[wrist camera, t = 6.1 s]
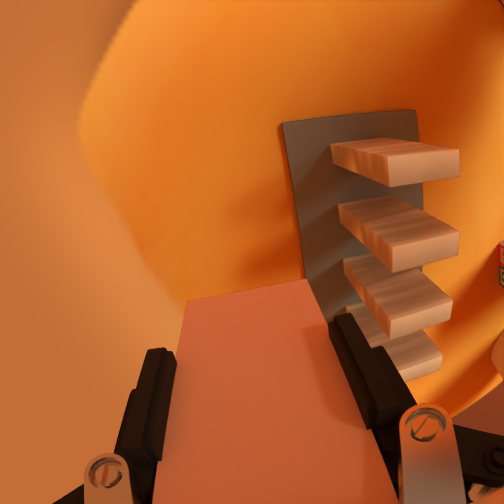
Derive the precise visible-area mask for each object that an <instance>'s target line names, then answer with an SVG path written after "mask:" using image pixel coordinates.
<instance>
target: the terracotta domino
mask: <svg viewBox="0 0 504 504" xmlns="http://www.w3.org/2000/svg"><path fill="white" fill-rule="evenodd" d="M176 361H177V368H176V373H175V379H174V385H173V390H172V396H171V402H170V408H169V415H168V421H167V427H166V434H165V440H164V447H163V454H162V461H158V464H157V471H156V478H155V486H154V493H153V501H152V504H399V501H398V498H397V495H396V492H395V490H394V487H393V484H392V482H391V479H390V476H389V474H388V471H387V468H386V466H385V463H384V461H383V458H382V455H381V453H380V450H379V448H378V445H377V443H376V440H375V438H374V435H373V433H372V430H371V429H368V430H367V429H366V426H365V424H364V421H363V419H362V416H361V413H360V411H359V408H358V406H357V403H356V401H355V398H354V396H353V393H352V391H351V388H350V386H349V383H348V381H347V379H346V376H345V374H344V371H343V369H342V366H341V364H340V362H339V359H338V357H337V354H336V352H335V350H334V347H333V345H332V342H331V340H330V338H329V333H328V325H327V323H326V321H325V319H324V316H323V314H322V312H321V310H320V307H319V305H318V303H317V301H316V298H315V296H314V294H313V292H312V290H311V287H310V285H309V283H308V281H307V279H301V280H296V281H292V282H287V283H282V284H277V285H272V286H266V287H261V288H256V289H251V290H246V291H241V292H235V293H230V294H224V295H219V296H214V297H208V298H202V299H197V300H191V301H187V305H186V310H185V315H184V320H183V324H182V329H181V334H180V339H179V344H178V349H177V354H176Z"/></svg>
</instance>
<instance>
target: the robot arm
mask: <svg viewBox="0 0 504 504" xmlns="http://www.w3.org/2000/svg"><path fill="white" fill-rule="evenodd" d="M501 2H502V3H503V5H504V0H501ZM328 333H329V338H330V340H331V342H332V345H333V347H334V350H335V352H336V354H337V357H338V359H339V362H340V364H341V366H342V369H343V371H344V374H345V376H346V379H347V381H348V383H349V386H350V388H351V391H352V393H353V396H354V398H355V401H356V403H357V406H358V408H359V411H360V413H361V416H362V419H363V421H364V424H365V426H366V429H367V430H368V429H371V430H372V433H373V435H374V438H375V440H376V443H377V445H378V448H379V450H380V453H381V455H382V458H383V461H384V463H385V466H386V468H387V471H388V474H389V476H390V479H391V482H392V484H393V487H394V490H395V492H396V495H397V498H398V501H399V504H504V436H501V435H496V434H492V433H487V432H483V431H478V430H474V429H470V428H465V427H462V426H458V425H454V424H452V420H451V417H450V415H449V413H448V412H447V411H446V410H445V409H444V408H442V407H440V406H439V405H436V404H431V403H422V404H418V405H417V403H416V401H415V399H414V398H413V396H412V394H411V392H410V391H409V389H408V387H407V385H406V384H405V382H404V380H403V378H402V377H401V375H400V373H399V371H398V370H397V368H396V366H395V365H394V363H393V361H392V360H391V358H390V356H389V355H388V353H387V351H386V350H385V348H384V347H383V346H381V345H380V346H377V347H373V348H371V347H370V345H369V343H368V341H367V339H366V338H365V336H364V334H363V332H362V331H361V329H360V327H359V325H358V324H357V322H356V320H355V318H354V317H353V315H352V313H350V312H349V313H345V314H341V315H337V316H334V317H333V321H331V322H328ZM176 368H177V361H176V359H175V357H174V354H173V352H172V351H167V350H166V348H164V347H163V348H155V349H149V350H148V351H147V353H146V356H145V360H144V363H143V366H142V369H141V373H140V376H139V380H138V383H137V387H136V389H133V390H132V391H131V393H130V395H129V399H128V402H127V406H126V410H125V413H124V416H123V420H122V423H121V427H120V431H119V434H118V438H117V442H116V445H115V449H114V453H105V454H102V455H99V456H97V457H95V458H94V459H92V460H91V461H90V462H89V463H88V465H87V467H86V469H85V472H84V484H83V485H81V486H79V487H78V488H76V489H75V490H74V491H72V492H70V493H69V494H67V495H65V496H64V497H62V498H61V499H59V500H57V501H56V502H54V503H53V504H152V501H153V493H154V486H155V478H156V471H157V464H158V461H162V454H163V447H164V440H165V434H166V427H167V421H168V415H169V408H170V402H171V396H172V390H173V385H174V379H175V373H176Z"/></svg>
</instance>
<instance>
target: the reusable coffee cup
mask: <svg viewBox="0 0 504 504" xmlns="http://www.w3.org/2000/svg"><path fill="white" fill-rule="evenodd" d="M491 360H492V362H493V364H494V365H495V367H496V369H497V370H498V372H499V373H500V375H501V377H502V378H503V380H504V330H503V332H502V333H501V334H500V336H499V337H498V339H497V341H496V343H495V344H494V347H493V349H492V353H491ZM503 383H504V381H503Z"/></svg>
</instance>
